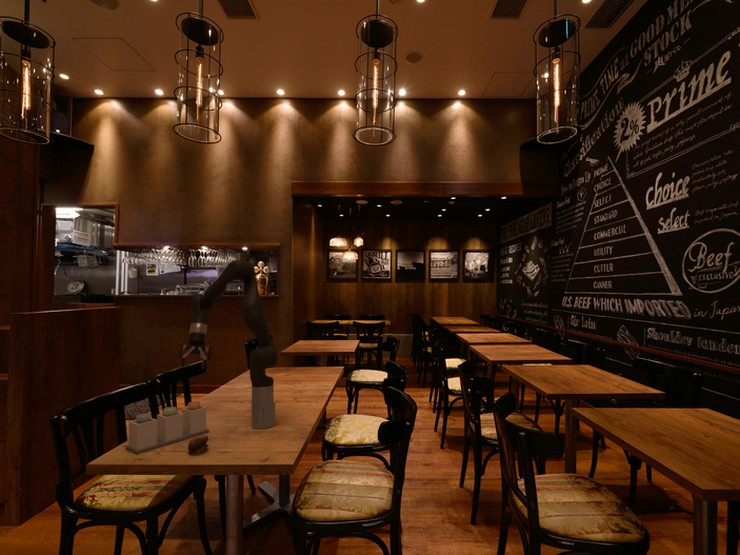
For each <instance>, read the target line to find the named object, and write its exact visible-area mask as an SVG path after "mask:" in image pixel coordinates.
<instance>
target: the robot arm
mask: <svg viewBox="0 0 740 555" xmlns="http://www.w3.org/2000/svg"><path fill="white" fill-rule="evenodd" d="M255 270H256V269H255V266H254V264H253V263H252V261H251V262H250V261H248V260H241V259H240V260H239V259H236V260H235V259H234V260H232V261H231V262H229V263H228V264H227V266H226V267H225V268H224V270H223V271H222V273H220V275H219V276H218V278H217V279H215V281H214V282H213V283H212V284H211V285H209V286H208V287H207V288H206V289H205V290H204V292H203V294H201V293H195V294H194V295H193V296H192V297H191V300H190V306H191V314H192V315H191V316H192V317H191V318H192V319H191V324H190V328H189V332H188V339H187V340H188V341H187V344H183V343H181V344H180V345H179V348H178V352H177V358H180V366H181V368H184V367H185V362H186V357H188V356H189V355H190V356H196V357H197V356H199V357H200V358H201V359H202V362H201V370H203V369H205V368H206V365H207V361H209V360H211V359H212V349H213V348H212V346H206V340H207V331H208V322H209V316H208V314H207V313H206V312H204V311H209V310H212V309H213V307H214V305H215V304H216V302H217V301H218V299H219V298H221V297H222V296H223V295H224V294H225V293H226V291H227V288H228V284H229V283H231V282H233V281H243V284H244V290H245V293H244V298H243V300H242V303H241V307H240V308H241V314H242V318H243V321H244V324H245V325H246V327H247V328H248V329H249V330H250V332H251V333H252V334H253V335H254V336H255V337H256V339H257V341H258V344H259V347H260V348H258V347H257V348H254V349H253V350H252V351H251V352H250V354H249V358H248V359H249V360H248V361H249V362H248V363H249V379H250V382H251V428H253V429H256V430H257V429H258V430H265V429H268V428H272V427H273V426H275V425H276V402H274V397H275V396H274V394H275V393H274V390H275V389H274V387H275V386H274V385H275V384H274V383H275V382H274V381H275V380H274V377H272V376H268V375H267V374H266V369H267V370H268V369H272V368H274V367H276V366H277V364H278V361H279V360H278V359H279V357H278V351H277V349H276V347H275V344H274V342H273V338H272V336H271V333H270V330H269V326H268V324H267V319H266V315H265V310H264V307H263V304H262V300H261V296H260V292H259V288H258V281H257V275H256V271H255ZM185 348H186V352H184V354H183V350H185ZM204 351H206V352H207V356H206V354H205V352H204Z"/></svg>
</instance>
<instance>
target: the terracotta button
mask: <svg viewBox="0 0 740 555" xmlns="http://www.w3.org/2000/svg"><path fill="white" fill-rule="evenodd" d="M200 406H201V401H199V400H195V401H189V402H188V403H187V408H188V410H190V411H193V410H197V409H200Z"/></svg>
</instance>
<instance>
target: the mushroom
mask: <svg viewBox="0 0 740 555" xmlns="http://www.w3.org/2000/svg"><path fill="white" fill-rule="evenodd" d="M208 441H209V436H208V435H207V434H202V435H198V436H195V437H192V438H190V440H189V443H188V445H187V450H188V452H189V453H190V454H191V455H194V454H197V453H199V452H204V451H205V450H206V449H207V448H208V447H210V444H207V443H208Z"/></svg>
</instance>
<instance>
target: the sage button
mask: <svg viewBox="0 0 740 555" xmlns="http://www.w3.org/2000/svg"><path fill="white" fill-rule="evenodd" d="M177 412H178V408H177V407H176V406H168V407H165V408H163V412H162V414H163V416H165V417H169V416H173V415H177Z"/></svg>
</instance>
